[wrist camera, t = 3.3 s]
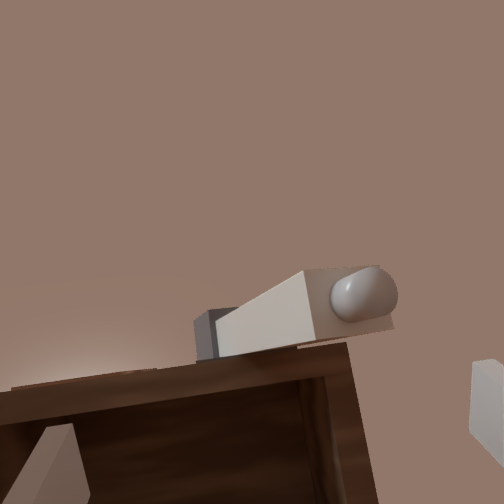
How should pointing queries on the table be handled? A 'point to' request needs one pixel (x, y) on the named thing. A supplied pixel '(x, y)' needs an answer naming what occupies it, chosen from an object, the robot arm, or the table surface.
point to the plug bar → (301, 312)
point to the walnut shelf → (206, 430)
